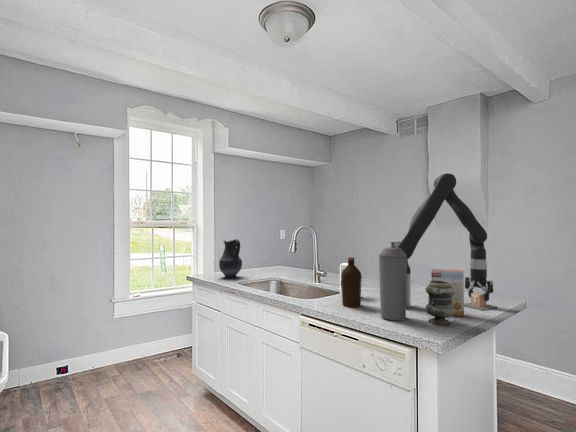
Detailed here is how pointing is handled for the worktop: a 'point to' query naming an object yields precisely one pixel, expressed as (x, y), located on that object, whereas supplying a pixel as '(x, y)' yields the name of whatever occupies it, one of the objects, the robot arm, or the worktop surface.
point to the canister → (393, 282)
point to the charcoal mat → (480, 307)
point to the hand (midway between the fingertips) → (478, 299)
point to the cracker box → (456, 283)
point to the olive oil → (351, 285)
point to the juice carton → (342, 267)
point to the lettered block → (478, 299)
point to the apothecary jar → (440, 302)
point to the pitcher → (231, 259)
